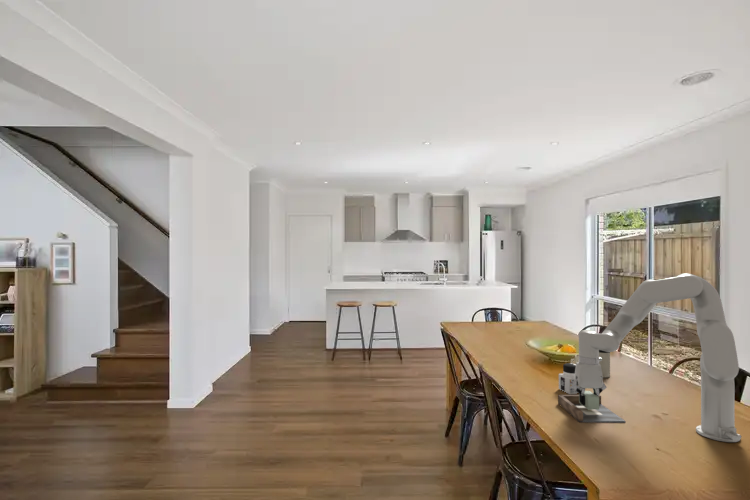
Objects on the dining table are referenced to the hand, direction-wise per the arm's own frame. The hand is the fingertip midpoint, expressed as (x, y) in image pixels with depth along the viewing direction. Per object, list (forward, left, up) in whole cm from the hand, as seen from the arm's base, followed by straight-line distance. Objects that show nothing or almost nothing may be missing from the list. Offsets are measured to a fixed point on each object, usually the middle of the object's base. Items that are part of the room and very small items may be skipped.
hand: (588, 403), depth 178 cm
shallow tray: (-1, 0, -3) cm, 3 cm away
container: (+26, -4, -4) cm, 27 cm away
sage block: (0, 0, -1) cm, 1 cm away
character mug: (+42, -17, -4) cm, 45 cm away
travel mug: (+52, -32, -4) cm, 61 cm away
